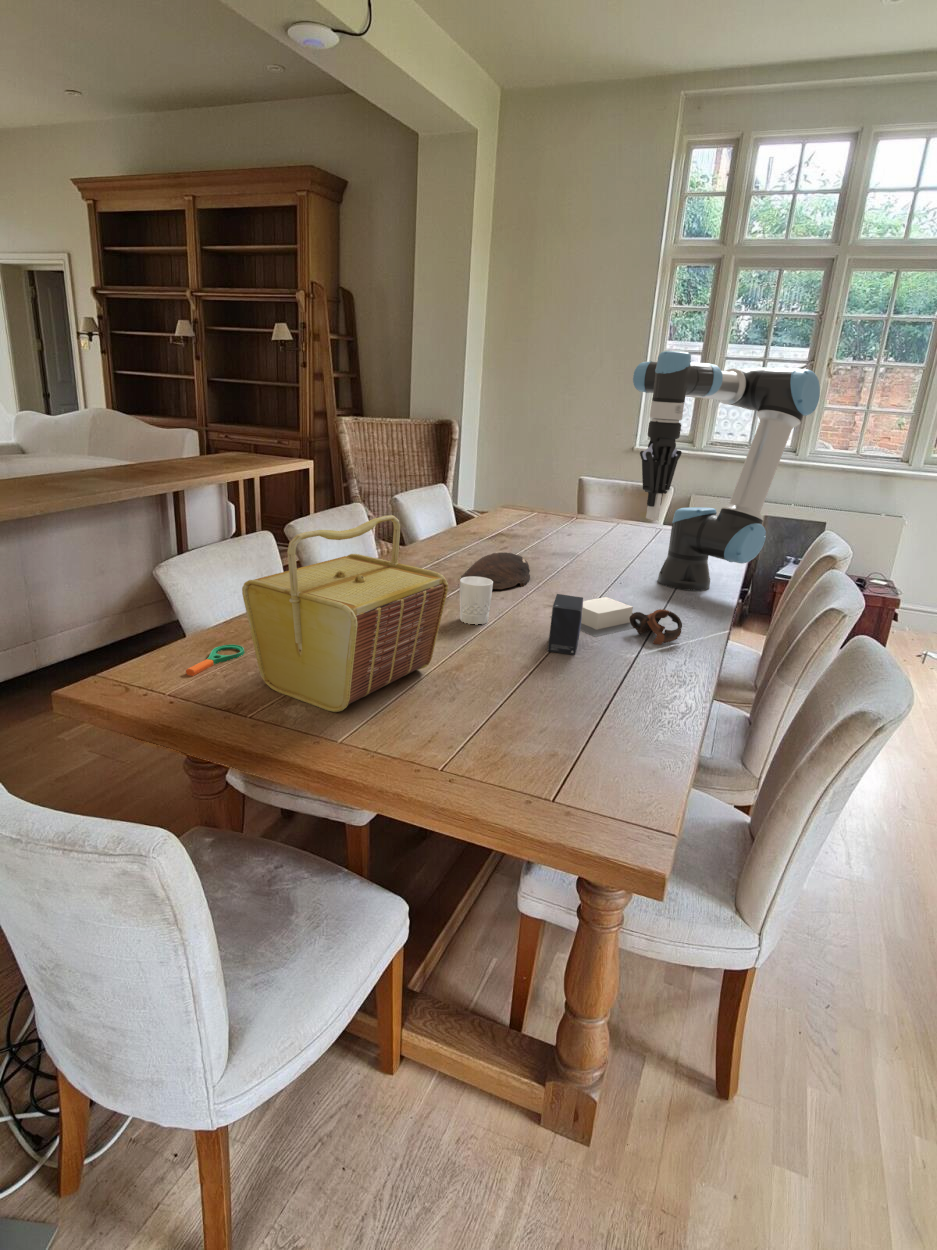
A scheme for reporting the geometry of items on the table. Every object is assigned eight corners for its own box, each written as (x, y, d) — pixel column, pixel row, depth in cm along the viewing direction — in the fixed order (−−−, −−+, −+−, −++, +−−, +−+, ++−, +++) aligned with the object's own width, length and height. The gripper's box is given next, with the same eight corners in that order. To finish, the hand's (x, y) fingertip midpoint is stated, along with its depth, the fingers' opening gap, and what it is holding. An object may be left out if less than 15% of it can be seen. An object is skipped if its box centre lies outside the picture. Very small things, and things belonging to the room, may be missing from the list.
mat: (610, 606, 189) (610, 604, 189) (657, 624, 177) (658, 622, 177) (548, 618, 176) (549, 616, 176) (595, 638, 164) (595, 636, 164)
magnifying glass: (225, 648, 147) (224, 640, 147) (250, 652, 146) (250, 644, 145) (176, 674, 133) (175, 666, 133) (204, 680, 132) (203, 671, 131)
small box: (576, 656, 153) (582, 610, 150) (546, 652, 154) (551, 606, 151) (579, 639, 163) (584, 596, 159) (551, 636, 164) (555, 592, 161)
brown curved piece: (672, 635, 171) (687, 613, 165) (668, 663, 165) (683, 641, 159) (625, 618, 172) (638, 595, 166) (619, 645, 165) (632, 622, 159)
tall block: (606, 596, 181) (572, 603, 174) (632, 606, 174) (598, 613, 168) (604, 611, 183) (570, 618, 176) (630, 622, 176) (596, 629, 169)
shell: (514, 605, 192) (511, 577, 189) (445, 603, 199) (442, 576, 196) (542, 566, 221) (541, 541, 218) (481, 565, 228) (479, 541, 225)
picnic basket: (349, 727, 117) (350, 549, 107) (240, 686, 129) (232, 523, 119) (447, 673, 140) (455, 523, 130) (348, 642, 153) (348, 503, 143)
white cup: (495, 619, 173) (498, 579, 170) (482, 628, 166) (485, 587, 163) (466, 613, 176) (468, 574, 173) (452, 622, 169) (454, 581, 166)
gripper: (660, 422, 162) (646, 524, 170) (695, 422, 170) (680, 520, 178) (635, 419, 168) (622, 518, 176) (670, 419, 175) (657, 514, 183)
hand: (652, 519), depth 177 cm, fingers closed
